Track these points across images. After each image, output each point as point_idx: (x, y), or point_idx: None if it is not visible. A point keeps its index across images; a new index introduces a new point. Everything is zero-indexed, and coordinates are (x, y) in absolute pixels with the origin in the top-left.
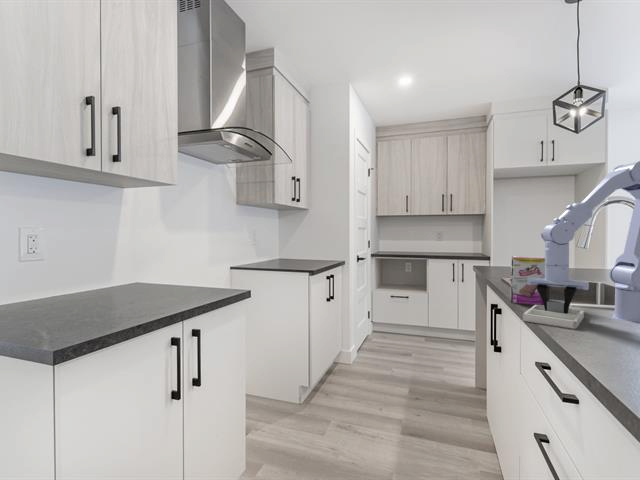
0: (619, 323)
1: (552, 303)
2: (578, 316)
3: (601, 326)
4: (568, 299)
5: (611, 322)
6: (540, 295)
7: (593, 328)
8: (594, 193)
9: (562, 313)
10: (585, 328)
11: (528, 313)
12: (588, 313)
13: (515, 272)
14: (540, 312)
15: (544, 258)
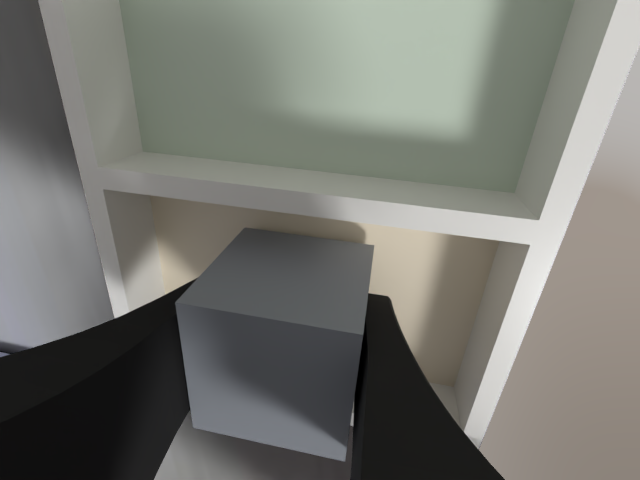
0: (18, 321)
1: (300, 313)
2: (79, 131)
3: (41, 194)
4: (85, 340)
5: (49, 325)
6: (460, 428)
7: (47, 95)
8: None
9: (220, 188)
10: None
11: (597, 25)
12: (186, 463)
13: None
14: (433, 200)
15: None
